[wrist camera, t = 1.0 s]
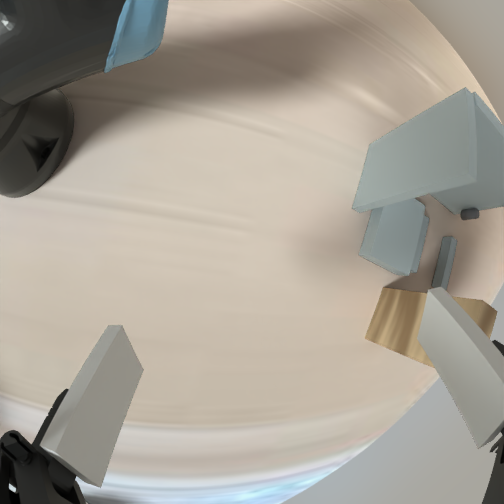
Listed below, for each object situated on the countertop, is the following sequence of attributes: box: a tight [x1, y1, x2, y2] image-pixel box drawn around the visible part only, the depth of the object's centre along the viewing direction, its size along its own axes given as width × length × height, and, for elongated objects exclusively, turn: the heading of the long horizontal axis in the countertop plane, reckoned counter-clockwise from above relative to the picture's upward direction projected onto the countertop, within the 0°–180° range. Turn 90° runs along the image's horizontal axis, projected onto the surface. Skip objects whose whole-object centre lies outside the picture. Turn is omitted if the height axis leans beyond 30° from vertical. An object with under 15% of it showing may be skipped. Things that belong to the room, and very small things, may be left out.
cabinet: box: [352, 87, 504, 290], centre depth 26 cm, size 20×16×18 cm
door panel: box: [365, 287, 497, 368], centre depth 26 cm, size 4×7×16 cm, turn 158°
